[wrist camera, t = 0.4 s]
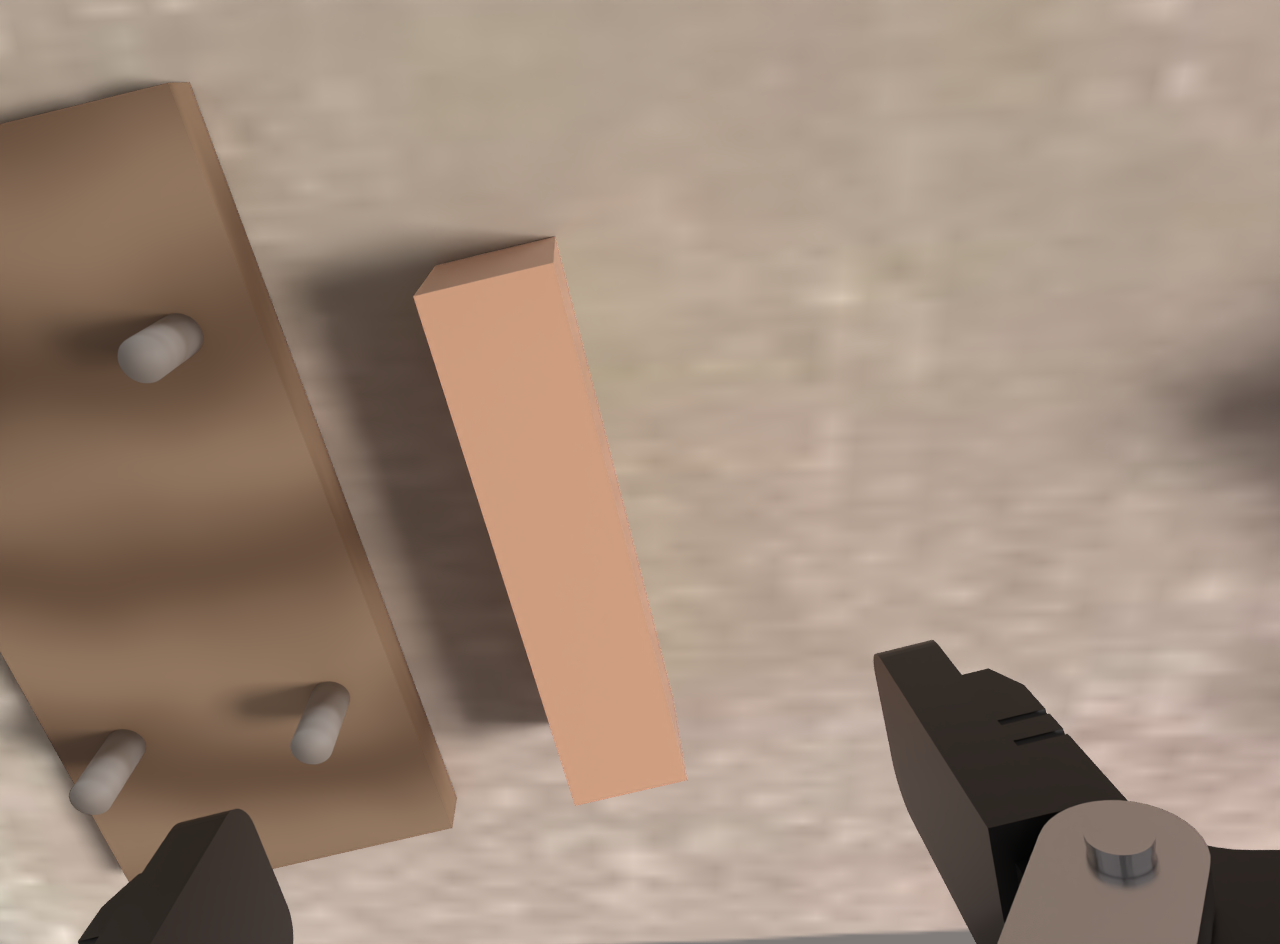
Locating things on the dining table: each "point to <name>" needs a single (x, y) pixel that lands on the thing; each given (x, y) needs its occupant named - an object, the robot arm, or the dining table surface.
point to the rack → (182, 511)
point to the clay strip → (554, 513)
